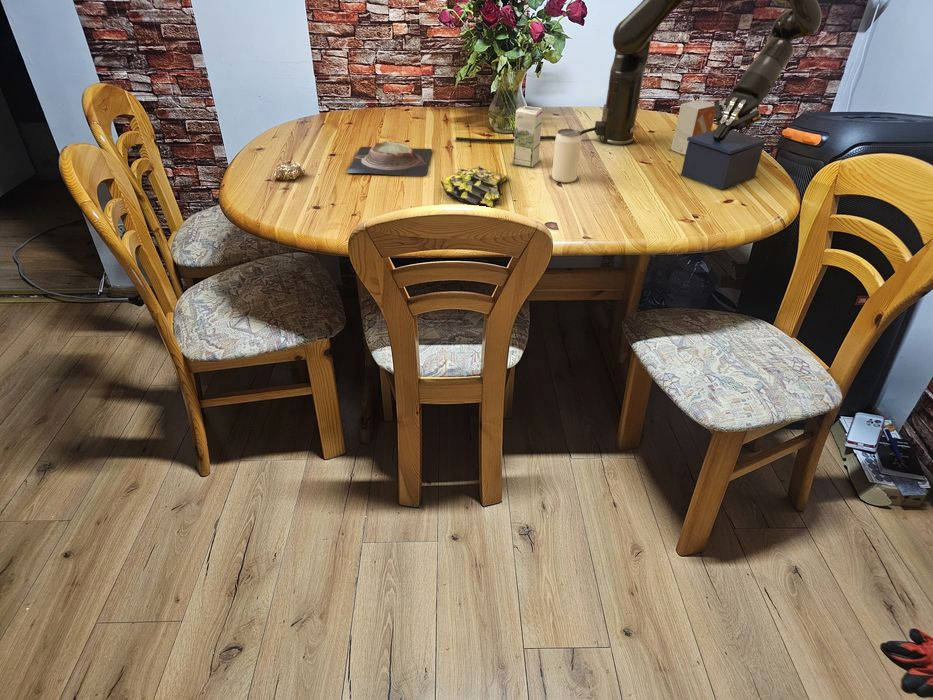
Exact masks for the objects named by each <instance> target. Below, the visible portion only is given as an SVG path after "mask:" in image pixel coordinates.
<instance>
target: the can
mask: <svg viewBox="0 0 933 700" xmlns="http://www.w3.org/2000/svg"><path fill="white" fill-rule="evenodd" d="M580 132H581V131H580V130H578V129H575V128H560V129H558V130H557V134H556V135H555V136H556V139H554V150H553V160H552V161H553V162H552V169H551V170H552V171H551V178H552V179H553V180H554V181H555V182H558V183H561V184H570V183H574V182H575V181H576V180H577V179H578V171H579V164H580V155H581V147H582V146H581V145H582V137H581V136H582V135H581V136H580Z"/></svg>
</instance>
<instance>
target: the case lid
mask: <svg viewBox="0 0 933 700" xmlns="http://www.w3.org/2000/svg"><path fill="white" fill-rule="evenodd" d="M715 130H716V129H711V131H709V132H705V133H701V134H698V135H694V136H691V137H688V138H687V141H690V142H693V143H697V144H700V145H703V146H706V147H709V148H712V149H715V150H718V151H721V152H725V153H728V154H733V153H736V152H739V151H742V150H745V149H748V148H751V147H754V146H758V145H761V144H764V145H765V143H766V140H765V139H762V138H760V137H755V136H753V135H749V134H745V133H742V132H739V131H737V130H736V131H735V130H731V131H730V132H729V133H728V135H727V136H726V138H725V139H724V140H723V141H722V140H721V142H717V141H714V139H713V133H714V131H715Z"/></svg>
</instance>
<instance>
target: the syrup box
mask: <svg viewBox="0 0 933 700" xmlns="http://www.w3.org/2000/svg"><path fill="white" fill-rule="evenodd" d="M542 120H543V107H536V106H529V105H521V106H520V107H518V108H517V109H516V110H515V120H514V137H513V139H514V142H513V159H512V164H513V165H515V166H520V167H525V168H534V166H536V164H538V163H539V160H540V148H541V147H540V146H541V140H540V136H542V135H541V134H542V133H541V132H542V122H543V121H542Z"/></svg>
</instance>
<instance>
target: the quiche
mask: <svg viewBox="0 0 933 700" xmlns="http://www.w3.org/2000/svg"><path fill="white" fill-rule="evenodd" d="M432 153H433V150H432V149H431V148H412V147H411V146H410V145H407V144H405V143H403V142H396V141H395V142H394V141H391V140H385V141H381V142H378V143H375V144H373V145H372V146H360V147H359V148H358V151H357V153H356V155H355V158H354V159H353V161H352V163H351V164H350V165H349V168H348V169H347V171H346V173H347V174H375V175H390V176H391V175H392V176H402V177H424V176H426V175H427V173H428V167H429V162H430V159H431V156H432Z"/></svg>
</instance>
